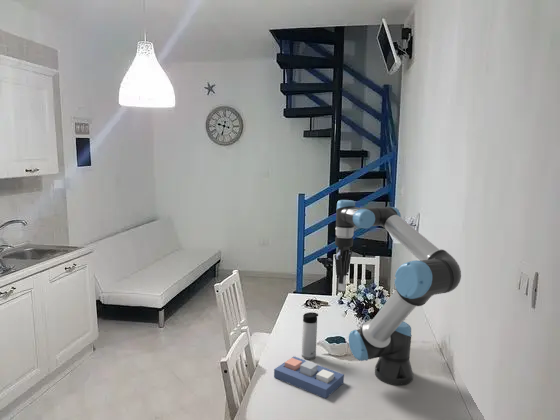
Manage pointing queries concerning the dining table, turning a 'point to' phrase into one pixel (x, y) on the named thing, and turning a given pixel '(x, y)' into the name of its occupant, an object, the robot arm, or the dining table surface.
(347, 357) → the dining table surface
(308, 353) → the travel mug
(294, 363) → the key coral
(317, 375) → the key ivory
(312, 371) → the key grey
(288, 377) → the board
